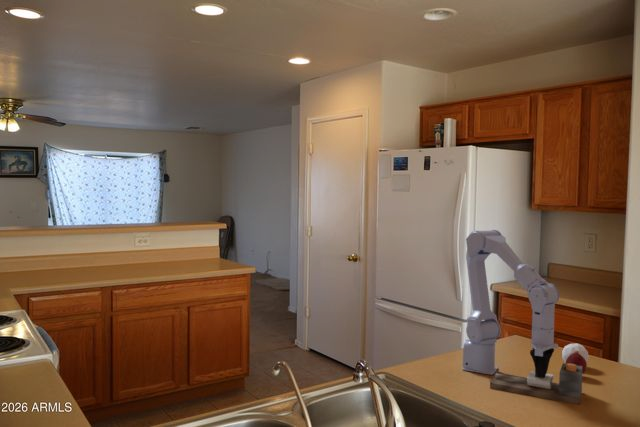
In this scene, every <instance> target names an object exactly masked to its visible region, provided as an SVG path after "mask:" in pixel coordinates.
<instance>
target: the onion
mask: <svg viewBox="0 0 640 427" xmlns="http://www.w3.org/2000/svg"><path fill="white" fill-rule="evenodd" d="M568 363H570V364H575V365H577V366H582V374H584V373H585V371H586V370H587V367H588V365H587V363H588V362H587V363H586V360H585V359H584V358H583V357H582V356H581V355H580V354H579V353H578V351H577V350H576V351H575V352H574V353H573V354H571V355H570V356H569V357H568V358H567V360H566V363H565V364H568Z"/></svg>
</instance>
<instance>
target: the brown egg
mask: <svg viewBox="0 0 640 427" xmlns="http://www.w3.org/2000/svg"><path fill="white" fill-rule="evenodd" d="M565 364H566V363H565ZM576 369H577V365H575V364H570V363H568V364H566V370H568V371H574V372H576Z"/></svg>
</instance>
